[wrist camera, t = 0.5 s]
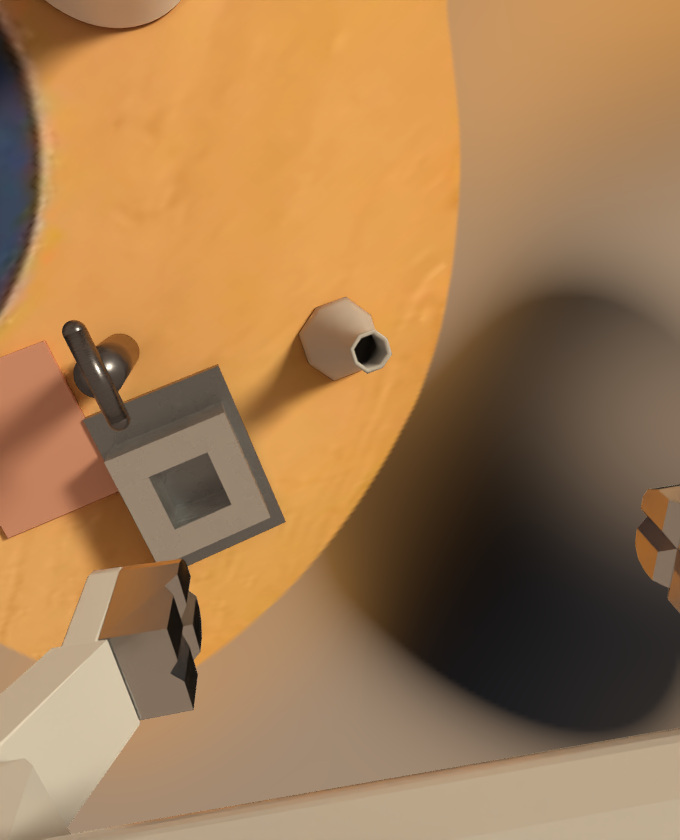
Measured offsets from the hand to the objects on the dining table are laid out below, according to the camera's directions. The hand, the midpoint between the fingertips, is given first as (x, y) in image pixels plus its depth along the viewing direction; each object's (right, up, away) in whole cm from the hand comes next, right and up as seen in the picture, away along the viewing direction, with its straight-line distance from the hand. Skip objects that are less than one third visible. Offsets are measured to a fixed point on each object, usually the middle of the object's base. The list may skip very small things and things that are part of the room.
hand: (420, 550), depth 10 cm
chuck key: (-20, +8, +39) cm, 45 cm away
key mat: (-28, +1, +39) cm, 48 cm away
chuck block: (-15, -2, +43) cm, 46 cm away
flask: (-2, +10, +44) cm, 45 cm away
